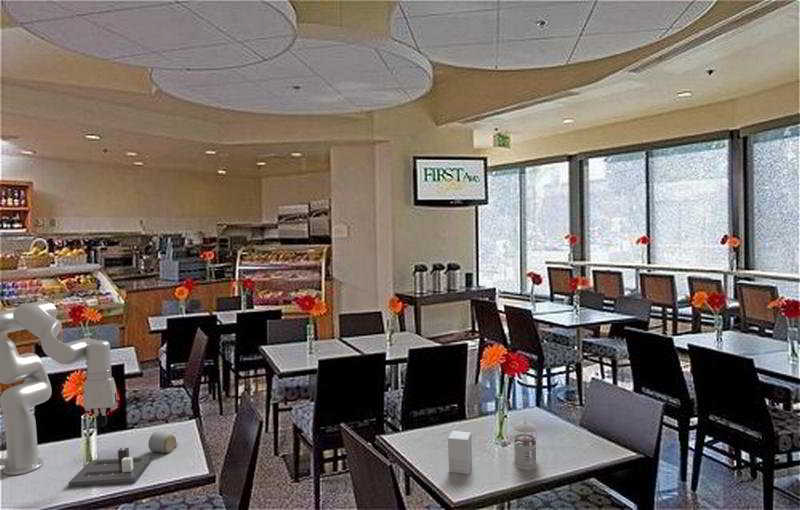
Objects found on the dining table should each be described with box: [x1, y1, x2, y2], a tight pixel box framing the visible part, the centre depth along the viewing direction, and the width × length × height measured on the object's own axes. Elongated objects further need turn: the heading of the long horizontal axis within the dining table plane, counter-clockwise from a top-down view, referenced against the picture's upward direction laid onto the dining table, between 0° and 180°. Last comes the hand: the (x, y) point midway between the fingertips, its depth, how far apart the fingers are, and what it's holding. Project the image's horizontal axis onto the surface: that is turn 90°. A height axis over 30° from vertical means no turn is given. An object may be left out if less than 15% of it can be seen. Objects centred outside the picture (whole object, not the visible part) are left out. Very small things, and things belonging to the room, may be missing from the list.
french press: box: [511, 396, 540, 471], centre depth 206 cm, size 10×12×25 cm
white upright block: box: [122, 456, 133, 472], centre depth 203 cm, size 3×2×5 cm
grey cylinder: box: [147, 430, 179, 454], centre depth 226 cm, size 11×8×8 cm
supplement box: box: [447, 430, 473, 475], centre depth 202 cm, size 7×7×13 cm
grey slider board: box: [68, 455, 153, 489], centre depth 205 cm, size 22×18×2 cm
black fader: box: [117, 447, 130, 462], centre depth 211 cm, size 3×2×5 cm
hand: (102, 425), depth 201 cm, fingers closed
